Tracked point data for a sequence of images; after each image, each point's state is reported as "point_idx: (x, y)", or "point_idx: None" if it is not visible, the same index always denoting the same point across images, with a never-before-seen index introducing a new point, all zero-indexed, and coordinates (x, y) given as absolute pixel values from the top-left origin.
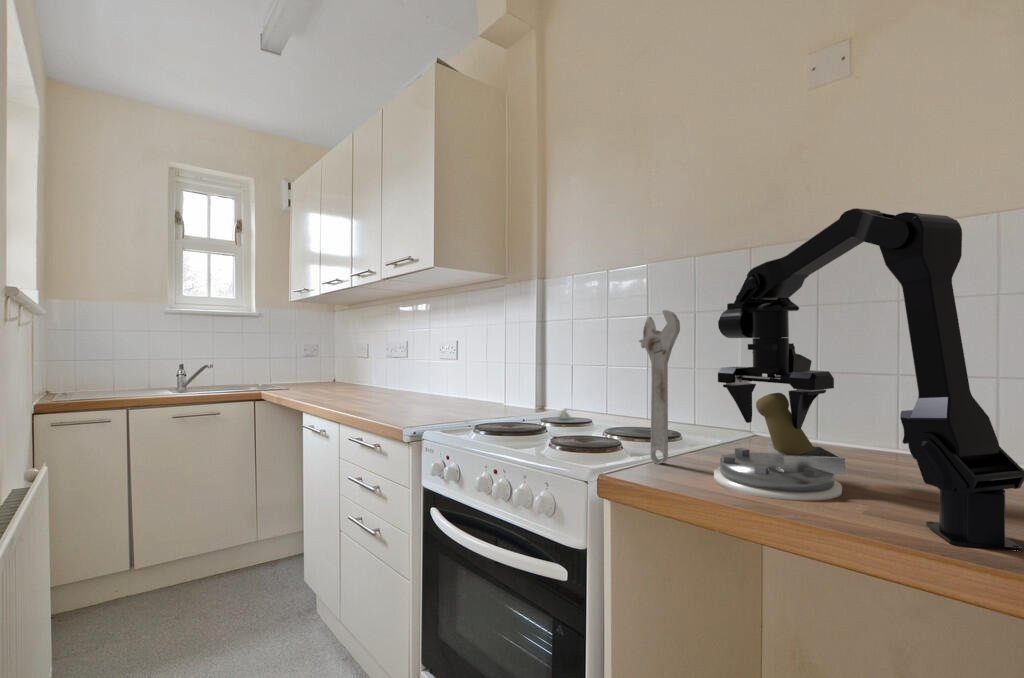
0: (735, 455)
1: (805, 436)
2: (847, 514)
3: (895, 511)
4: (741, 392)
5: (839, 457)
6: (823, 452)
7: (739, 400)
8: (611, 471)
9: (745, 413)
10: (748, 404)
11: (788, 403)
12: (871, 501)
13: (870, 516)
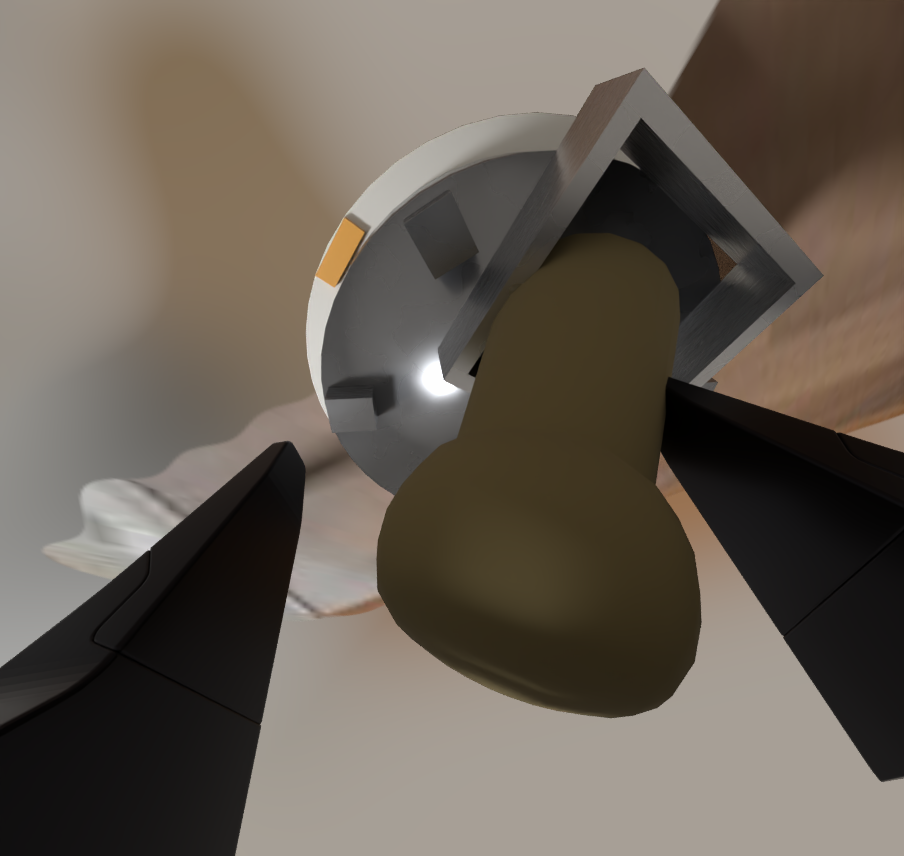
0: (362, 432)
1: (672, 347)
2: (742, 381)
3: (851, 235)
4: (217, 759)
5: (797, 283)
6: (664, 156)
7: (269, 670)
8: (298, 603)
9: (297, 535)
10: (241, 573)
11: (683, 531)
12: (783, 208)
13: (789, 343)
